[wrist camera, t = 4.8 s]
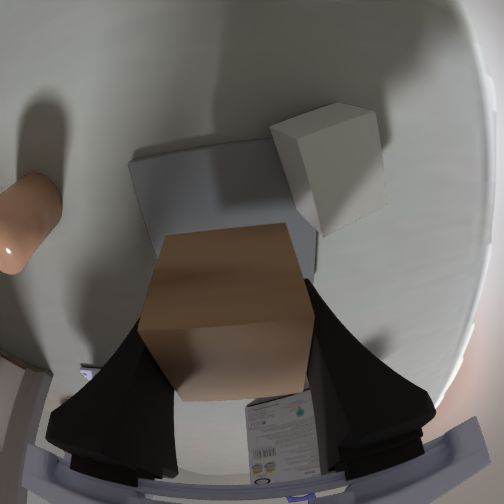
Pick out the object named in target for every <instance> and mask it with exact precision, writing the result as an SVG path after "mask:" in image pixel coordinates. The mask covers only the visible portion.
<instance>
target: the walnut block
mask: <svg viewBox="0 0 504 504" xmlns="http://www.w3.org/2000/svg"><path fill="white" fill-rule="evenodd" d="M314 319H315V315H314V311H313V308H312V305H311V301H310V298H309V295H308V291H307V288H306V285H305V282H304V278H303V275H302V272H301V269H300V266H299V263H298V259H297V256H296V253H295V250H294V247H293V244H292V241H291V238H290V235H289V232H288V229H287V226H286V223H275V224H265V225H255V226H245V227H235V228H226V229H216V230H207V231H198V232H190V233H181V234H173V235H165V238H164V241H163V244H162V247H161V250H160V253H159V256H158V259H157V263H156V266H155V269H154V272H153V276H152V279H151V282H150V286H149V289H148V292H147V296H146V299H145V303H144V307H143V310H142V314H141V318H140V322H139V325H138V329H137V331H138V333H139V334H140V336H141V338H142V340H143V341H144V343H145V345H146V346H147V348H148V350H149V351H150V353H151V354H152V356H153V358H154V359H155V361H156V362H157V364H158V366H159V367H160V369H161V370H162V372H163V373H164V375H165V376H166V378H167V379H168V381H169V382H170V384H171V385H172V386H173V388H174V389H175V391H176V392H177V394H178V395H179V396H180V398H181V399H182V401H221V400H239V399H252V398H262V397H272V396H280V395H288V394H295V393H302V392H303V389H304V383H305V377H306V372H307V366H308V360H309V353H310V347H311V340H312V333H313V326H314Z"/></svg>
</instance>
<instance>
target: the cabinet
mask: <svg viewBox="0 0 504 504" xmlns="http://www.w3.org/2000/svg"><path fill="white" fill-rule="evenodd" d="M52 378H53V374H52V373H51V372H50V371H48V370H47V369H37V368H35V367H33V366H31V365H29V364H27V363H25V362H23V361H21V360H19V359H18V358H16V357H14V356H12V355H10V354H9V353H7V352H5V351H3V350H2V349H0V504H26V503H27V491H28V490H27V489H26V488H24V487H22V477H23V470H24V463H25V457H26V452H27V447H28V444H29V443H30V444H33V445H34V444H35V440H36V435H37V431H38V427H39V423H40V418H41V415H42V411H43V407H44V404H45V400H46V397H47V394H48V390H49V387H50V384H51V381H52Z"/></svg>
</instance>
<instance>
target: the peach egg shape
mask: <svg viewBox="0 0 504 504" xmlns="http://www.w3.org/2000/svg"><path fill="white" fill-rule="evenodd" d="M61 216H62V201H61V198H60V195H59V192H58V190H57V188H56V187H55V185H54V184H53V183H52V182H51V181H50V180H49V179H48V178H47V177H46V176H44V175H42V174H40V173H34V172H33V173H28V174H26V175H25V176H23V177H22V178H21V179H19V180H18V181H17V182H15V183H14V184H13V185H12V186H10V187H9V188H8V189H7V190H5V191H4V192H3V193H2V194H0V271H2V272H4V273H7V274H11V275H15V274H18V273H19V272H21V270H22V269H23V267H24V266H25V265H26V263H27V262H28V260H29V259H30V258H31V256H32V255H33V254H34V252H35V251H36V250H37V249H38V247H39V246H40V245H41V243H42V242H43V241H44V240H45V238H46V237H47V236H48V235H49V234H50V232H51V231H52V230H53V229H54V228H55V226H56V225H57V224H58V223H59V221H60V219H61Z"/></svg>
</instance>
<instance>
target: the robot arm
mask: <svg viewBox="0 0 504 504" xmlns="http://www.w3.org/2000/svg"><path fill="white" fill-rule="evenodd" d="M304 282H305V285H306V288H307V291H308V295H309V298H310V301H311V305H312V308H313V311H314V315H315V319H314V326H313V333H312V340H311V347H310V353H309V360H308V366H307V372H306V373H307V377H308V381H309V385H310V391H311V397H312V403H313V410H314V417H315V425H316V433H317V441H318V451H319V462H320V472H321V476H318V477H312V478H306V479H300V480H293V481H285V482H276V483H266V484H251V485H196V484H181V483H171V482H162V481H155V478H156V479H162V478H174V477H176V476H177V475H178V466H177V459H176V450H175V437H174V388H173V386H172V385H171V384H170V382H169V381H168V379H167V378H166V376H165V375H164V373H163V372H162V370H161V369H160V367H159V366H158V364H157V362H156V361H155V359H154V358H153V356H152V354H151V353H150V351H149V350H148V348H147V346H146V345H145V343H144V341H143V340H142V338H141V336H140V334H139V333H138V331H137V329H138V325H139V322H140V318H141V316H140V318H139V319H138V321H137V322H136V324H135V325H134V327H133V328H132V330H131V331H130V333H129V334H128V336H127V337H126V338H125V340H124V341H123V342H122V344H121V345H120V347H119V348H118V349H117V351H116V352H115V353H114V354H113V356H112V357H111V358H110V359H109V361H108V362H107V363H106V364H105V365H104V366H103V368H102V369H95V368H84V367H81V368H80V372H81V373H82V374H83V375H84V376H85V377H86V378H87V379H88V380H89V382H88V383H87V384H86V385H85V386H84V387H83V388H82V389H81V390H79V391H78V392H77V393H76V394H75V395H74V396H72V397H71V398H70V399H69V400H67V401H66V402H65V403H63V404H62V405H61V406H59V407H58V408H57V409H55V410H54V411H52V412H51V415H50V419H49V423H48V427H47V432H46V436H45V438H46V440H47V441H48V442H49V443H51V444H53V445H54V446H56V447H58V448H60V449H62V450H64V451H65V454H64V459H63V458H61V457H58V456H56V455H55V454H53V453H51V452H49V451H47V450H44V449H42V448H40V447H37V446H35V445H33V444H30V443H29V444H28V447H27V452H26V457H25V463H24V470H23V477H22V487H24V488H26V489H27V490H29V491H31V492H33V493H34V494H36V495H38V496H40V497H41V498H43V499H45V500H47V501H48V502H50V503H52V504H180V503H171V502H164V501H157V500H152V497H153V495H159V496H167V497H175V498H186V499H198V500H199V499H200V500H257V499H270V498H281V497H289V496H296V495H303V494H309V493H315V492H320V491H325V490H330V489H335V488H339V487H343V486H347V485H349V486H348V487H347V488H346V490H345V491H344V492H342V493H338V494H334V495H329V496H324V497H319V498H314V499H309V500H308V504H429V503H431V502H433V501H434V500H436V499H437V498H439V497H441V496H442V495H444V494H446V493H447V492H449V491H451V490H452V489H453V488H455V487H457V486H458V485H460V484H461V483H463V482H464V481H466V480H467V479H469V478H470V477H472V476H473V475H475V474H476V473H478V472H479V471H481V470H482V469H484V468H485V467H486V466H488V465H489V464H490V463H491V460H490V457H489V453H488V450H487V447H486V443H485V440H484V437H483V435H482V431H481V428H480V426H479V423H478V420H477V417H475V416H474V417H472V418H470V419H469V420H467V421H465V422H463V423H461V424H460V425H458V426H456V427H454V428H453V429H451V430H449V431H448V432H446V433H445V434H444V435H443V436H440V437H438V438H436V439H434V440H432V441H430V442H428V443H425V444H422V441H421V437H422V436H423V432H422V429H421V428H422V427H423V426H424V425H426V424H427V423H428V422H429V421H431V420H432V419H433V418H434V416H435V414H436V410H435V407H434V405H433V402H432V400H431V398H430V396H429V395H428V393H427V391H425V390H423V389H422V388H420V387H418V386H416V385H415V384H413V383H411V382H410V381H408V380H407V379H405V378H404V377H402V376H401V375H399V374H398V373H396V372H395V371H393V370H392V369H391V368H390V367H388V366H387V365H386V364H384V363H383V362H382V361H381V360H379V359H378V358H377V357H376V356H374V355H373V354H372V353H371V352H370V351H369V350H368V349H366V348H365V347H364V346H363V345H362V344H361V343H360V342H359V341H358V340H357V339H356V338H355V337H354V336H353V335H352V334H351V333H350V332H349V331H348V330H347V328H346V327H345V326H344V325H343V324H342V323H341V322H340V321H339V319H338V318H337V317H336V316H335V315H334V313H333V312H332V311H331V310H330V308H329V307H328V306H327V304H326V303H325V302H324V300H323V299H322V298H321V296H320V295H319V294H318V292H317V291H316V289H315V288H314V286H313V285H312V283H311V281H310V280H309V279H308V278H306V279H304Z"/></svg>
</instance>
